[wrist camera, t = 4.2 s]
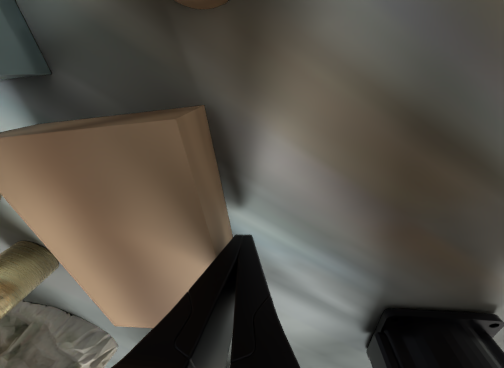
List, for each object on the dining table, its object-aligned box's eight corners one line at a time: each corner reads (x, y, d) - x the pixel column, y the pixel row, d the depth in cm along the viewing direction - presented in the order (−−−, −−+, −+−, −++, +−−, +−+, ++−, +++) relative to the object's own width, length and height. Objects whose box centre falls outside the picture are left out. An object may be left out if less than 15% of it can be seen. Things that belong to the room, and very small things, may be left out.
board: (206, 103, 8) (175, 119, 6) (245, 284, 14) (238, 332, 11) (44, 122, 9) (-45, 142, 7) (142, 282, 15) (115, 326, 13)
